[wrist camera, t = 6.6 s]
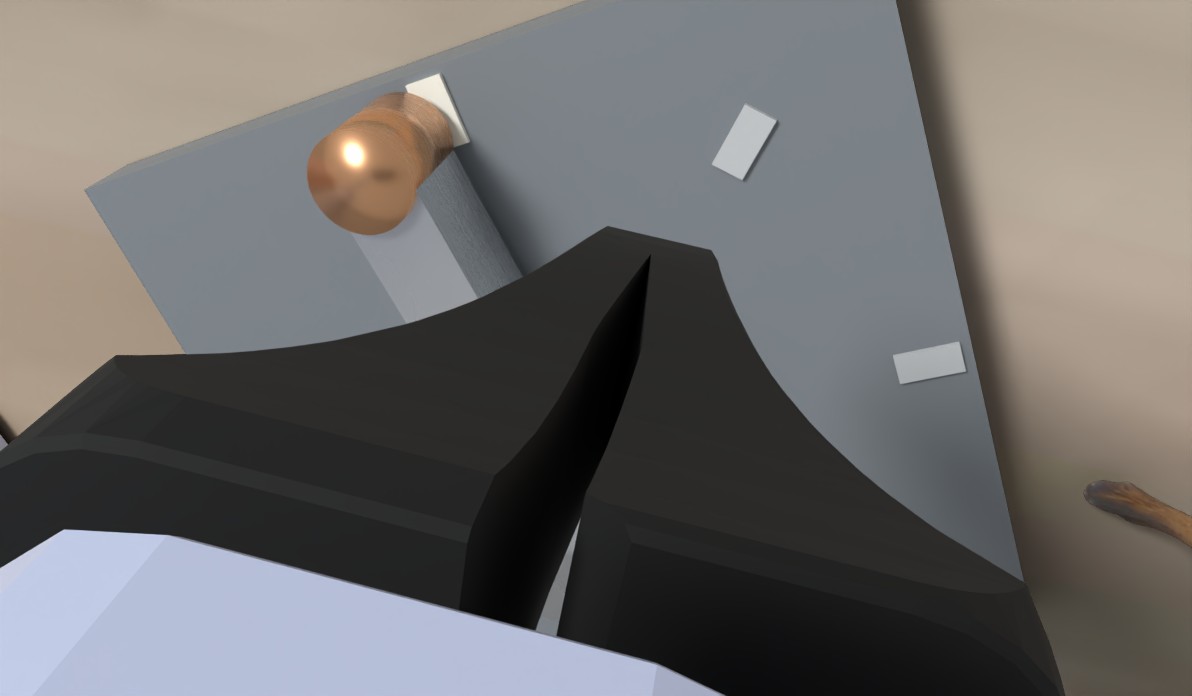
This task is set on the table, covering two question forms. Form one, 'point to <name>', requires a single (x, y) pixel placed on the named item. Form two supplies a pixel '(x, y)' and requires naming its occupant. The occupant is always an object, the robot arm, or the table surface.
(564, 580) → the dial
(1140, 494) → the lion figurine
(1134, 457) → the table surface
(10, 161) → the table surface
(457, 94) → the dial board
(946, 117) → the table surface
